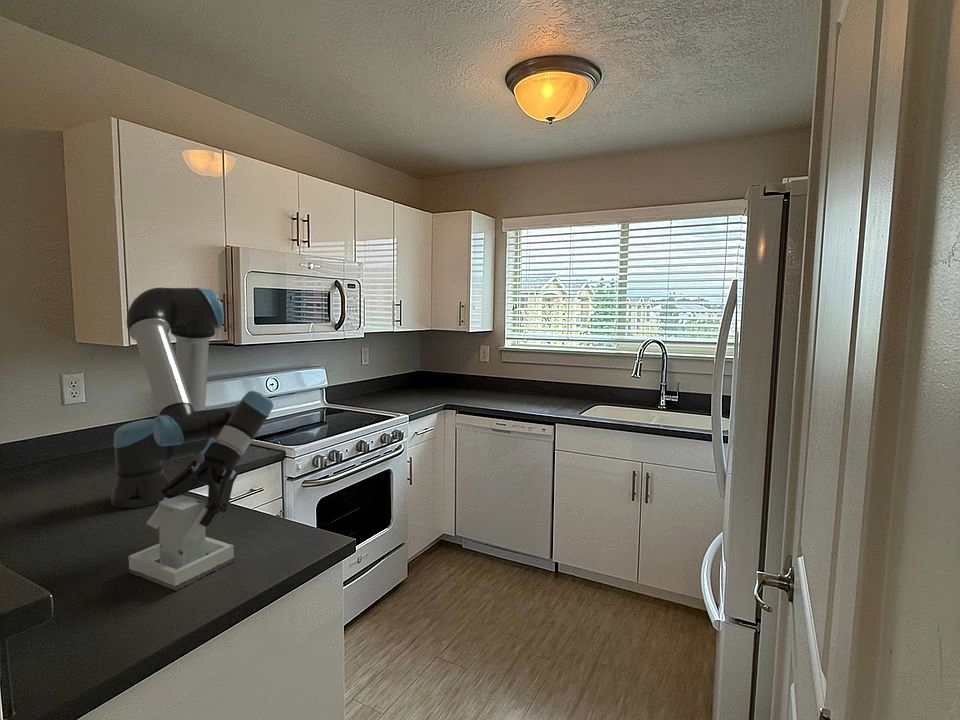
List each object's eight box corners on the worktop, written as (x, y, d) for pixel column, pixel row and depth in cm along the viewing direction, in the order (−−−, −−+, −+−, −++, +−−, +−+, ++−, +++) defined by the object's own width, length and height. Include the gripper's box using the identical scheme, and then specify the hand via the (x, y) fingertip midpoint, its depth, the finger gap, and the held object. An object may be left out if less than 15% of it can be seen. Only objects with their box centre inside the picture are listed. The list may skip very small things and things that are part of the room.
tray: (129, 573, 115) (128, 556, 115) (189, 546, 128) (188, 531, 127) (175, 591, 108) (174, 573, 108) (234, 561, 121) (233, 545, 120)
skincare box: (159, 566, 117) (155, 502, 115) (184, 554, 122) (180, 493, 121) (184, 574, 113) (180, 509, 112) (209, 562, 119) (205, 499, 117)
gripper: (273, 464, 124) (220, 551, 112) (204, 449, 135) (149, 528, 123) (253, 448, 118) (195, 537, 107) (183, 434, 129) (123, 514, 118)
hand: (170, 532), depth 115 cm, fingers open, 13 cm apart
